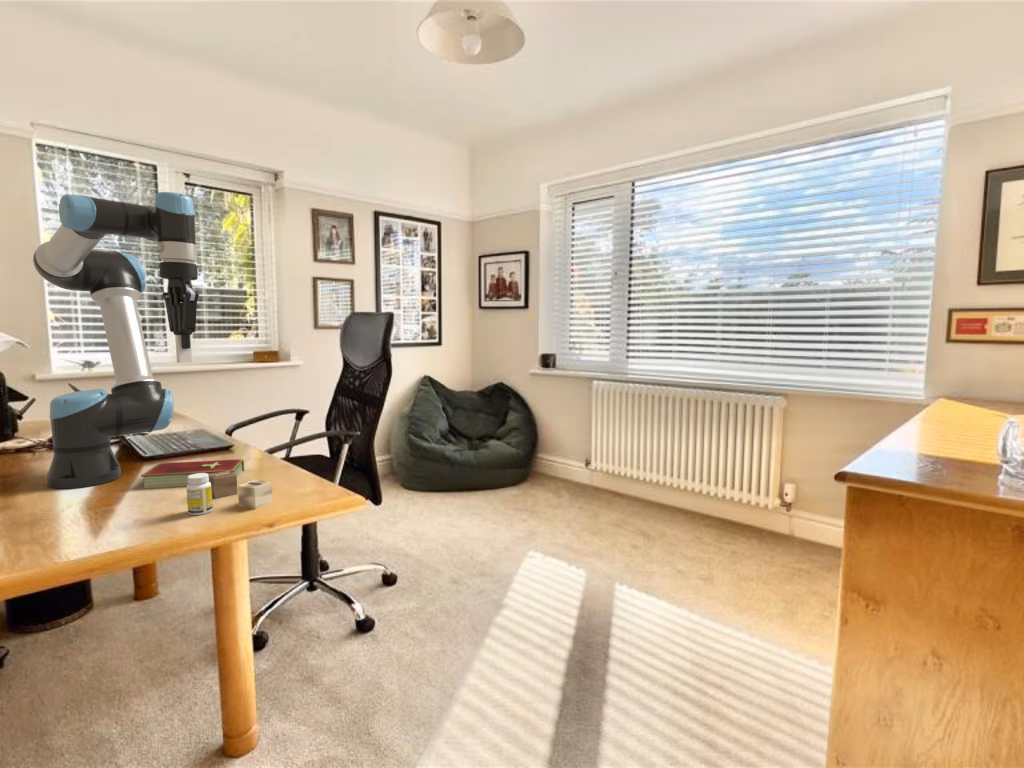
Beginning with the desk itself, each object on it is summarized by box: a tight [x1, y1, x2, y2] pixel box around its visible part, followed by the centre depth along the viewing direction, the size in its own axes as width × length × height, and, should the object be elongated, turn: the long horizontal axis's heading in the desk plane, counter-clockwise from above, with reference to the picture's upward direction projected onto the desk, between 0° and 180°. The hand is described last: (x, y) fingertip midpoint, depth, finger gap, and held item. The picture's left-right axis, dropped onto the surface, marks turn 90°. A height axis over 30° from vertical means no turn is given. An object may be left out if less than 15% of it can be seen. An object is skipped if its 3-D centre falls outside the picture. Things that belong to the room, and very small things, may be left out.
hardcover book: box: [140, 458, 245, 489], centre depth 141 cm, size 12×21×4 cm, turn 105°
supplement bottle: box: [186, 473, 213, 516], centre depth 117 cm, size 5×5×8 cm
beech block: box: [237, 479, 273, 510], centre depth 123 cm, size 5×5×5 cm
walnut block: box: [208, 471, 238, 500], centre depth 129 cm, size 5×5×5 cm
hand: (184, 362), depth 126 cm, fingers closed
